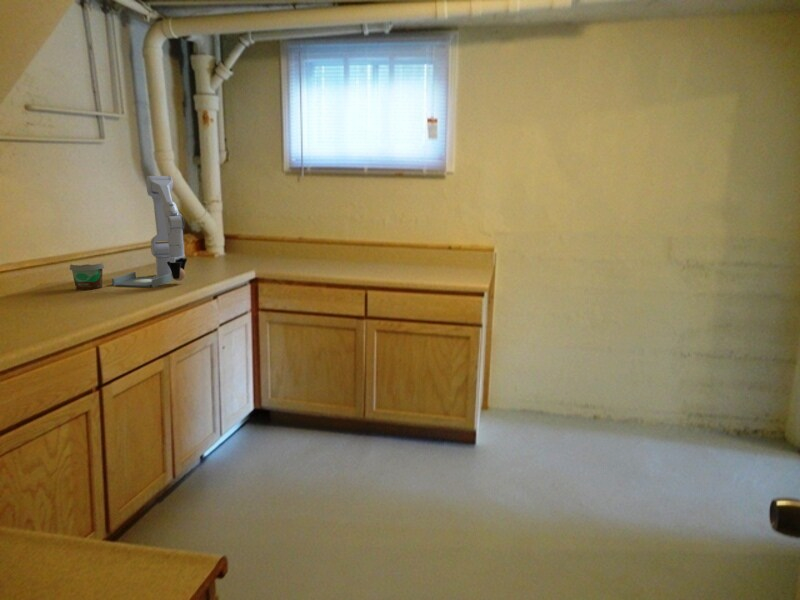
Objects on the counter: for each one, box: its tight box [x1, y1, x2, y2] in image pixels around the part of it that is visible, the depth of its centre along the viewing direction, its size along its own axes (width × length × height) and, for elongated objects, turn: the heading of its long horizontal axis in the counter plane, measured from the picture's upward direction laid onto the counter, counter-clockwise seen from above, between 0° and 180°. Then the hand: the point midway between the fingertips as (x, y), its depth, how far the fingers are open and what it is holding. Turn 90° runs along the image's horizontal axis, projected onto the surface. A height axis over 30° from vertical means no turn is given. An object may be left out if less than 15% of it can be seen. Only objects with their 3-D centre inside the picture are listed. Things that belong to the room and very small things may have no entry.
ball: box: [171, 268, 186, 281], centre depth 241 cm, size 6×6×6 cm
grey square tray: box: [111, 271, 174, 288], centre depth 243 cm, size 16×18×3 cm
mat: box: [115, 276, 158, 289], centre depth 243 cm, size 18×14×1 cm
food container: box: [69, 262, 105, 291], centre depth 228 cm, size 12×6×10 cm, turn 105°
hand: (178, 277), depth 241 cm, fingers closed on ball, 5 cm apart
